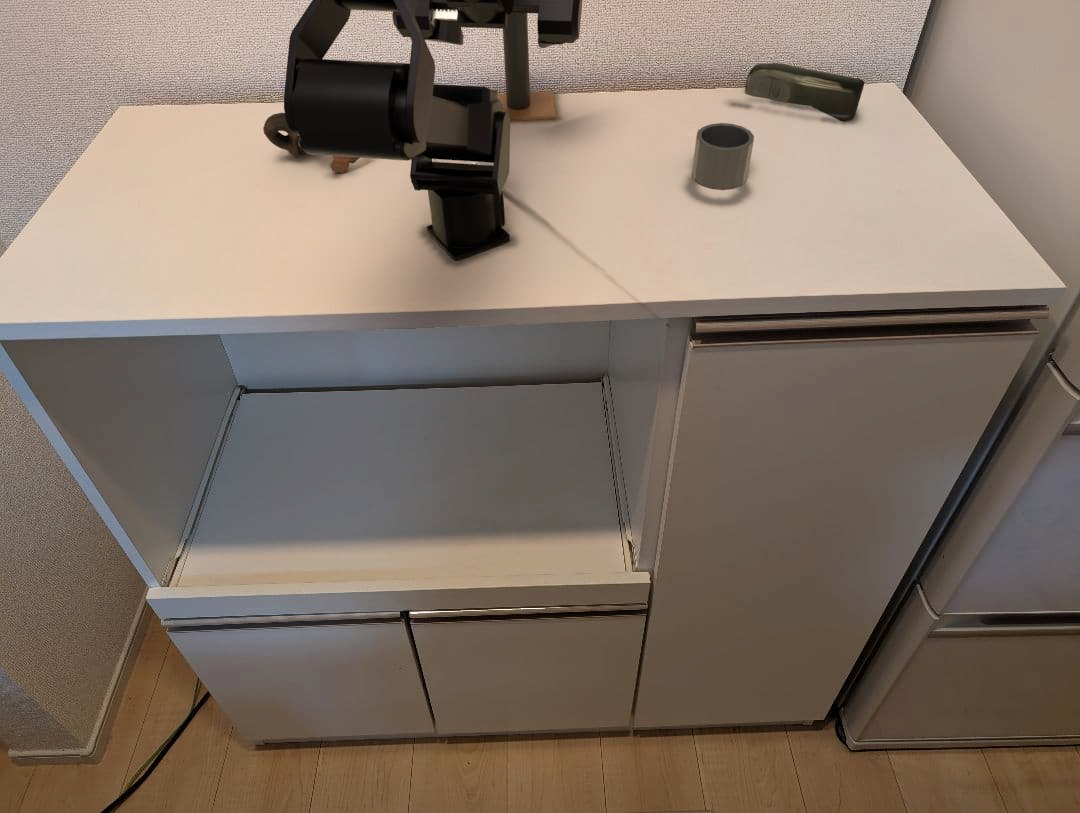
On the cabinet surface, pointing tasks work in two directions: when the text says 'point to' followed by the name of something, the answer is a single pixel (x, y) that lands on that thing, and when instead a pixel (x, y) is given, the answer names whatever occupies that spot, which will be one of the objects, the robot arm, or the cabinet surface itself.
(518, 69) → the marker
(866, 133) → the cabinet surface
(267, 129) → the brown curved ring piece
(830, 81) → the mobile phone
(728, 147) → the pen pot
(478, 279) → the cabinet surface
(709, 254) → the cabinet surface
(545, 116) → the cork pad
